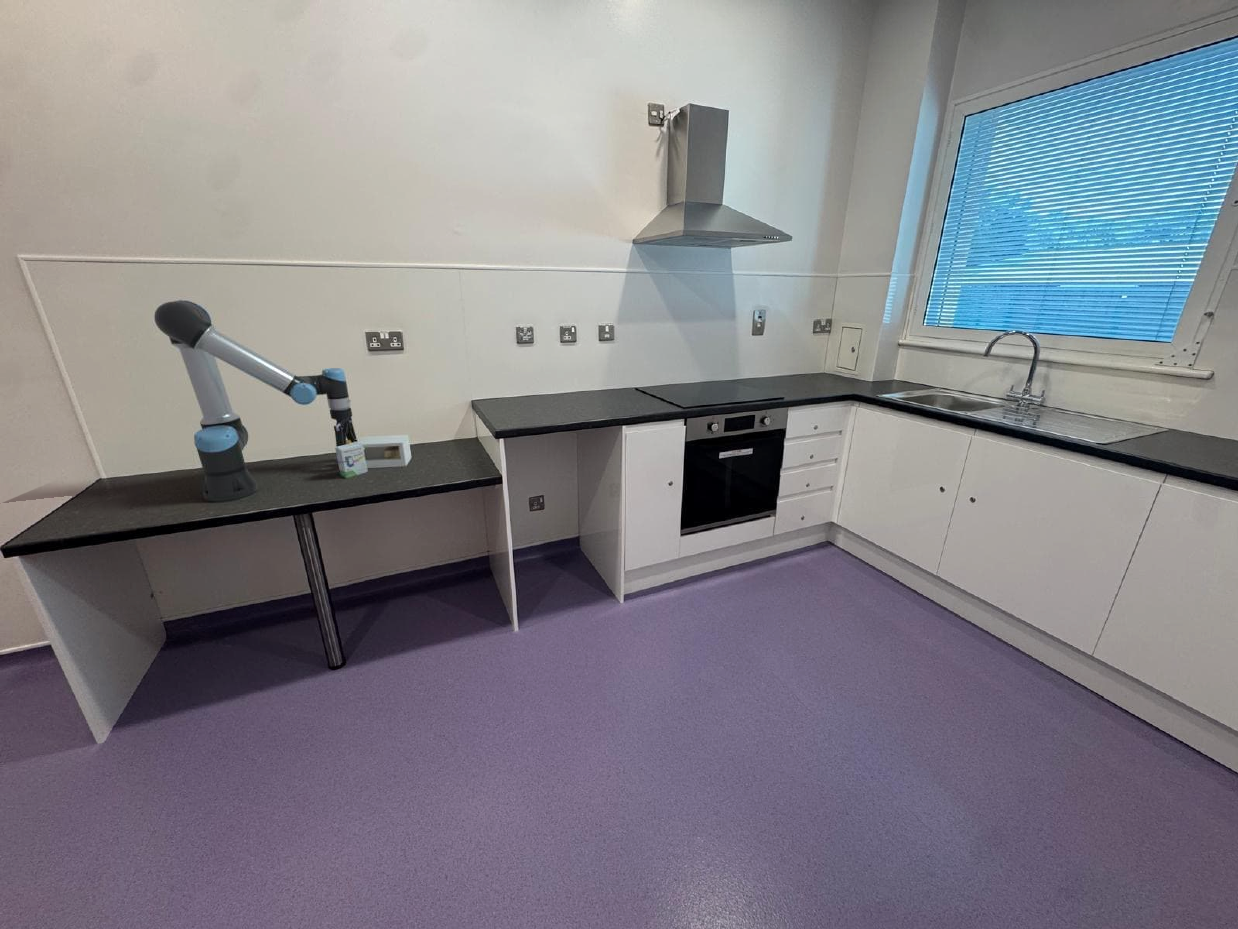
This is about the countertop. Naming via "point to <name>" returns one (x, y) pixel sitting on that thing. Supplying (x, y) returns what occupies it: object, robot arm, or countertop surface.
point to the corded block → (388, 451)
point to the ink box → (351, 459)
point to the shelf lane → (379, 444)
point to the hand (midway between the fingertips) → (350, 461)
